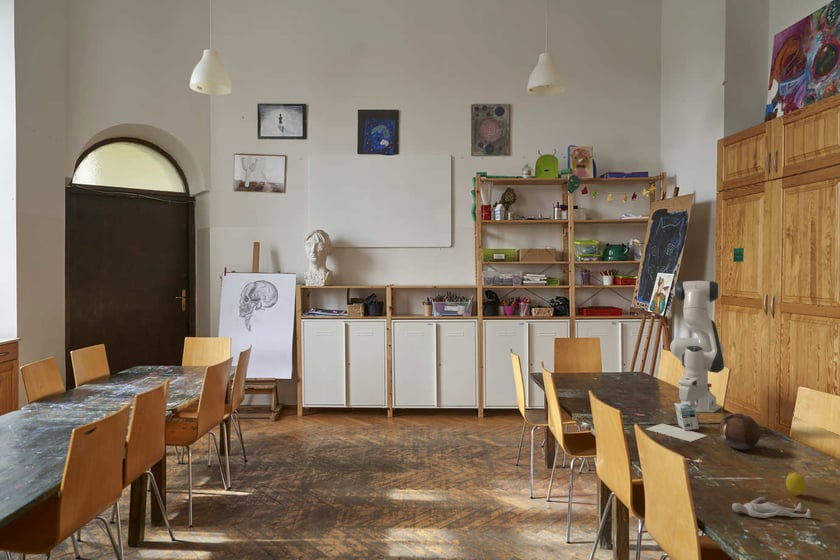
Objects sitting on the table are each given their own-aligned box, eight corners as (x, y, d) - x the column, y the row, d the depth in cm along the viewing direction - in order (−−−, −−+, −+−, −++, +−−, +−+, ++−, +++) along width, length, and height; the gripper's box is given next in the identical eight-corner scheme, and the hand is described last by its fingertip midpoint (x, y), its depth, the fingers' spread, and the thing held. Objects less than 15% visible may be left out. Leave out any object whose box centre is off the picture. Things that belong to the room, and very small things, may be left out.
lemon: (781, 492, 177) (781, 469, 177) (796, 491, 178) (796, 469, 177) (794, 499, 172) (794, 476, 171) (809, 498, 172) (810, 475, 172)
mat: (662, 424, 255) (662, 423, 255) (707, 436, 236) (707, 435, 236) (645, 429, 247) (645, 428, 247) (691, 441, 229) (690, 441, 229)
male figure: (816, 511, 156) (741, 509, 158) (815, 523, 156) (741, 521, 158) (794, 496, 166) (724, 495, 168) (794, 508, 166) (724, 506, 168)
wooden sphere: (754, 444, 225) (754, 410, 225) (764, 456, 211) (765, 420, 210) (715, 440, 230) (715, 407, 230) (723, 452, 216) (723, 417, 215)
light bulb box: (699, 429, 242) (695, 406, 242) (684, 430, 243) (680, 408, 244) (692, 423, 252) (688, 401, 253) (677, 424, 254) (673, 403, 254)
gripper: (698, 376, 258) (698, 403, 259) (676, 381, 247) (676, 409, 247) (711, 378, 253) (711, 406, 253) (689, 383, 242) (689, 412, 242)
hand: (694, 407), depth 250 cm, fingers closed
